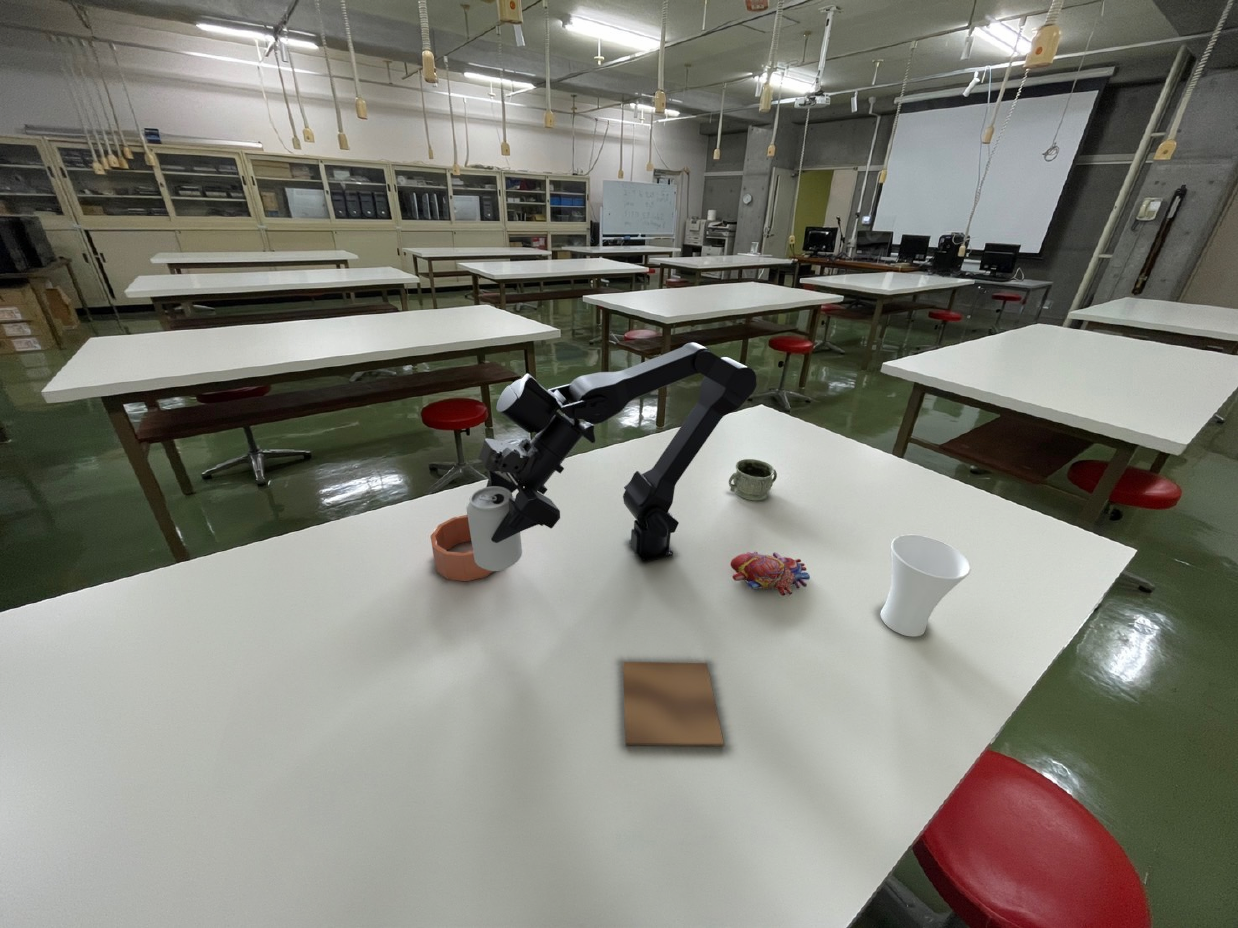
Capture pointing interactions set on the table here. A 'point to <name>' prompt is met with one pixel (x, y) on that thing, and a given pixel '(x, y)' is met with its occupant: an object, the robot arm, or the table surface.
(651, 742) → the wooden coaster
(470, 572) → the pot
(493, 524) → the can
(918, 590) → the cup
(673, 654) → the table surface
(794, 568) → the anatomical model
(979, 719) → the table surface
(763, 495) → the vessel
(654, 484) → the robot arm
